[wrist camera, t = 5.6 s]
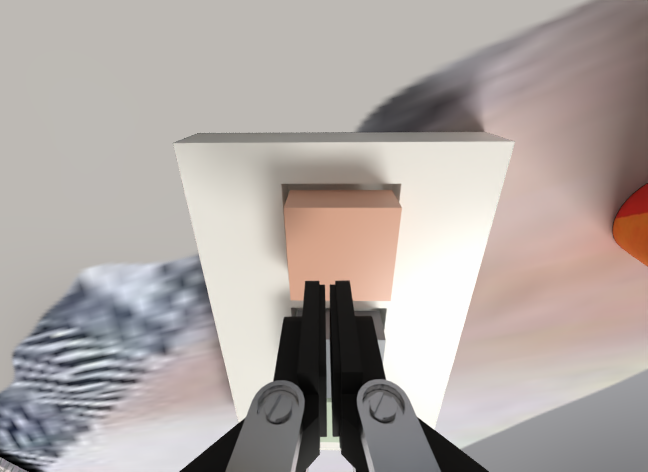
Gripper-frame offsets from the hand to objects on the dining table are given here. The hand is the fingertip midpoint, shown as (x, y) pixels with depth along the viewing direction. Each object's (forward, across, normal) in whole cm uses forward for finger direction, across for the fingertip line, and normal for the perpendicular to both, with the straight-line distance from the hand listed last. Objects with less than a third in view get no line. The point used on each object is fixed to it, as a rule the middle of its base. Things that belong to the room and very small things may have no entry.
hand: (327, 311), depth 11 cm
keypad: (+9, -1, +8) cm, 12 cm away
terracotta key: (+6, -1, 0) cm, 6 cm away
